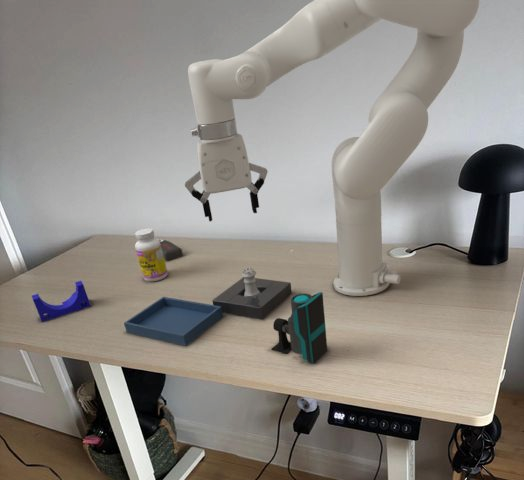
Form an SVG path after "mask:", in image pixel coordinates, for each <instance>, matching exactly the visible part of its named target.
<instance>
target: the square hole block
mask: <svg viewBox="0 0 524 480" xmlns="http://www.w3.org/2000/svg"><path fill="white" fill-rule="evenodd" d="M255 278H256V286H257V289H258V290H259V292H260V294H259V295H258V296H256V297H255V298H254V297H248V296H244V295H245V294H244V293H245V282H244V277H243V276H242V278H240V279H239V280H237V281H236V282H235V283H234V284H232V285H231V286H229V287H228V288H227V289H225V290H224V291H222V293H220V294H219V295H217V296H216V297H214V298H213V299H212V300H211V302H212V305H215V306H221V307H222V312H223V314H229V315H235V316H239V317H245V318H250V319H256V320H257V319H258V320H264V319H265V318H266V317H267V316H269V314H270V313H272V312H273V311H274V310H275V309H277V308H278V306H280V305H281V304H282V303H283V302H284V301H286V299H287V298H289V297H290V296H291V295H293V291H292V283H291V282H290V281H280V280H274V279H267V278H266V279H265V278H259V277H258V278H257V277H255Z"/></svg>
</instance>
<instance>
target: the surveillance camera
mask: <svg viewBox="0 0 524 480" xmlns="http://www.w3.org/2000/svg"><path fill="white" fill-rule="evenodd" d="M290 309H291V314H290V316H289V317H288V318H287V319H285V318H280V317H278V318H276V319H274V321H273V325H272V326H273V329H274V331H276V332H277V334H278V343H276V344H275V345H274V346H273V347H272V348H271V351H274V352H277V353H281V354H284V355H288V354H289V353H290V352H292V353H294V354H298V355H301V356H302V360H304V361H306V362H307V363H309V364H316V363H317V362H318V360H320V359H321V358H322V357H323V356H324V355H325V354H326V353H327V352H328V342H327V341H328V339H327V329H326V319H325V306H324V295H323V292H322V291H319V292H317V293H315V294H313V295H311V294H310V293H297V294H295V295H293V296H291V297H290ZM288 335H289V339H290V341H289V339H288Z"/></svg>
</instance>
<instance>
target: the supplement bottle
mask: <svg viewBox="0 0 524 480" xmlns="http://www.w3.org/2000/svg"><path fill="white" fill-rule="evenodd" d="M134 234H135V238H136V239H137V241H136V242H135V244H134V249H135V253H136V256H137V260H138V263H139V267H140V270H141V274H142V275H141V276H142V278H143V280H144V281H146V282H159V281H161V280H164V279H165V278H166V277H167V276H168V268H167V264H166V260H164V256H163V252H162V248H161V244H160V242H161V240H160V239H158V238H157V237H155V232H154V229H153V228H148V227H147V228H142V229H139V230H137V231H136V232H135V233H134Z"/></svg>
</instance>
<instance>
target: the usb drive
mask: <svg viewBox="0 0 524 480" xmlns="http://www.w3.org/2000/svg"><path fill="white" fill-rule="evenodd" d="M160 244H161V248H162V252H163V256H164V260H165V262H168V261H170V260H171V261H172V260H174V259H178V258H181V257H183V256H184V254H183V251H182V248H181V247H180V246H177V245H176V244H174V243H173V242H171V241H169V240H166V239H165V240H160Z"/></svg>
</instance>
